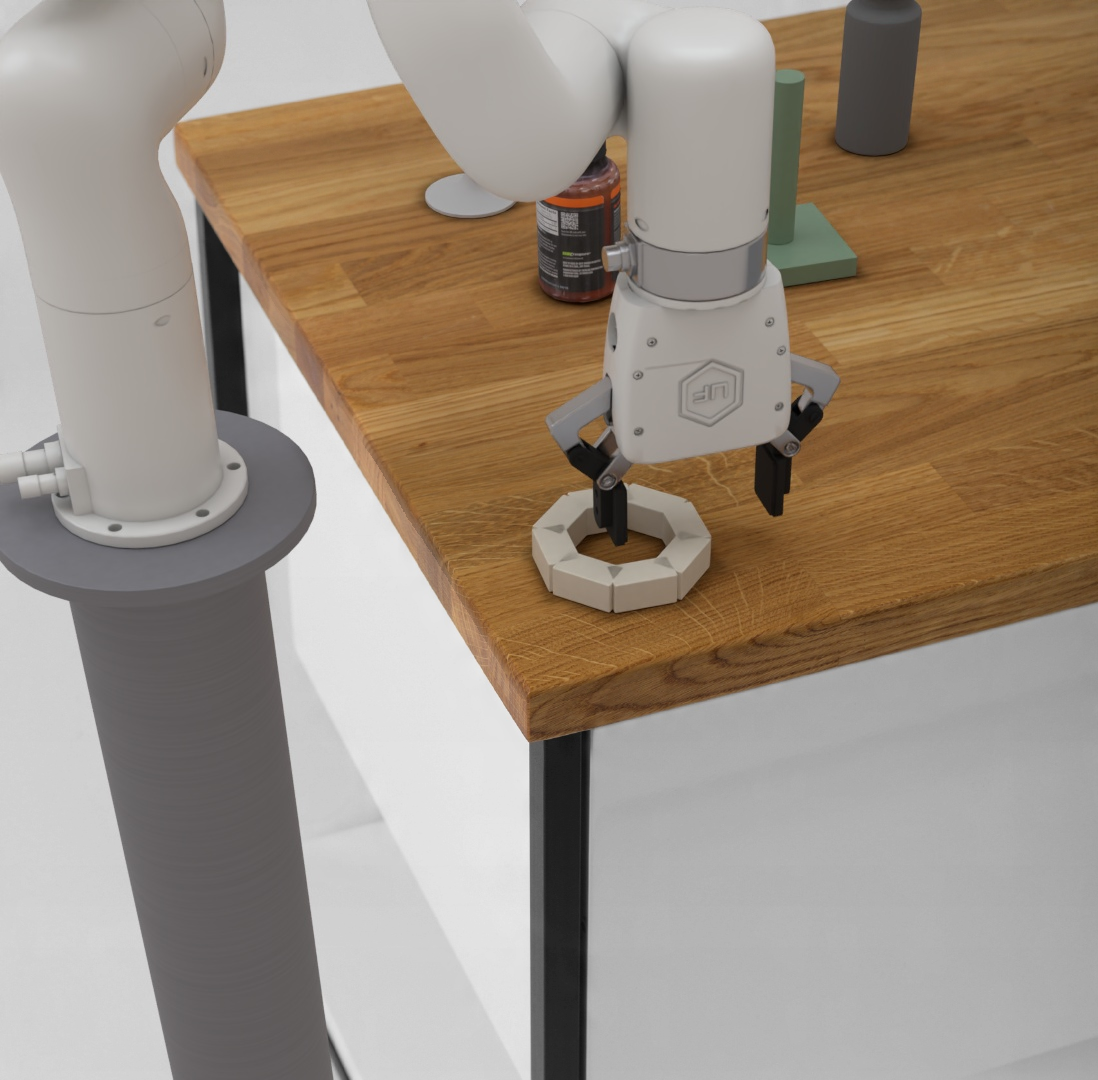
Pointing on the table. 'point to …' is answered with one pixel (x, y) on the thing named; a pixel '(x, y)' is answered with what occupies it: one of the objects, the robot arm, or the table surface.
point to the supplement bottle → (580, 234)
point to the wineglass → (464, 198)
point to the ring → (630, 580)
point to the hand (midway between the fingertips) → (691, 518)
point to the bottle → (877, 75)
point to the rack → (795, 230)
